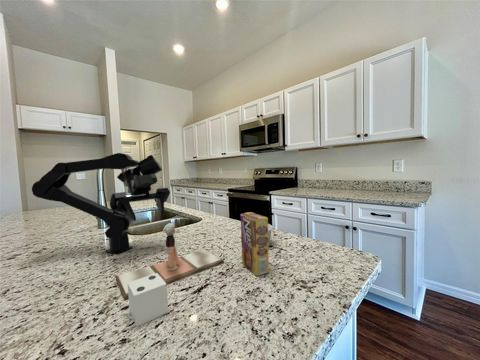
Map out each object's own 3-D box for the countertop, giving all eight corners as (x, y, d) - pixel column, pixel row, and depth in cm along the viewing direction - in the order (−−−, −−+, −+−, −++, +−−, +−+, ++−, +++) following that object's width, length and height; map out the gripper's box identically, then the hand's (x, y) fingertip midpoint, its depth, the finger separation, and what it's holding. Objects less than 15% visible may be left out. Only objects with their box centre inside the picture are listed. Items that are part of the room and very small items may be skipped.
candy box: (270, 272, 58) (268, 217, 57) (256, 277, 56) (254, 219, 55) (254, 260, 66) (252, 211, 65) (241, 263, 64) (239, 213, 63)
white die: (136, 326, 40) (133, 295, 39) (129, 310, 44) (127, 282, 44) (168, 312, 43) (166, 283, 43) (158, 298, 48) (157, 272, 48)
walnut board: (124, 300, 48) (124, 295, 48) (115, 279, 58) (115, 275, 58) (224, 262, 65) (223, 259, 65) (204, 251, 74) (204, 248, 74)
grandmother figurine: (183, 269, 59) (181, 224, 59) (169, 274, 57) (166, 227, 56) (174, 260, 66) (171, 219, 65) (161, 264, 63) (158, 222, 63)
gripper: (109, 167, 66) (123, 206, 59) (166, 166, 80) (183, 197, 72) (104, 191, 73) (117, 229, 65) (158, 186, 86) (173, 217, 78)
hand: (150, 217), depth 70 cm, fingers open, 9 cm apart
